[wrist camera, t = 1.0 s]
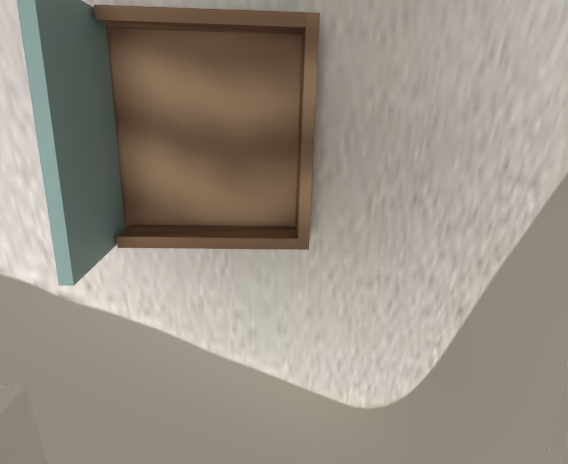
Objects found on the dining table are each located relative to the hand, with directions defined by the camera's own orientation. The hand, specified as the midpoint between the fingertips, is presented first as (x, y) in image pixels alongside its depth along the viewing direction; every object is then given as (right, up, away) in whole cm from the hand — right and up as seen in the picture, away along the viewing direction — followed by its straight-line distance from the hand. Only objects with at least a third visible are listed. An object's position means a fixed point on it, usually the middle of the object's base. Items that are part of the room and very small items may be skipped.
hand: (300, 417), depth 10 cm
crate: (-6, +12, +21) cm, 25 cm away
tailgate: (-13, +12, +19) cm, 26 cm away
